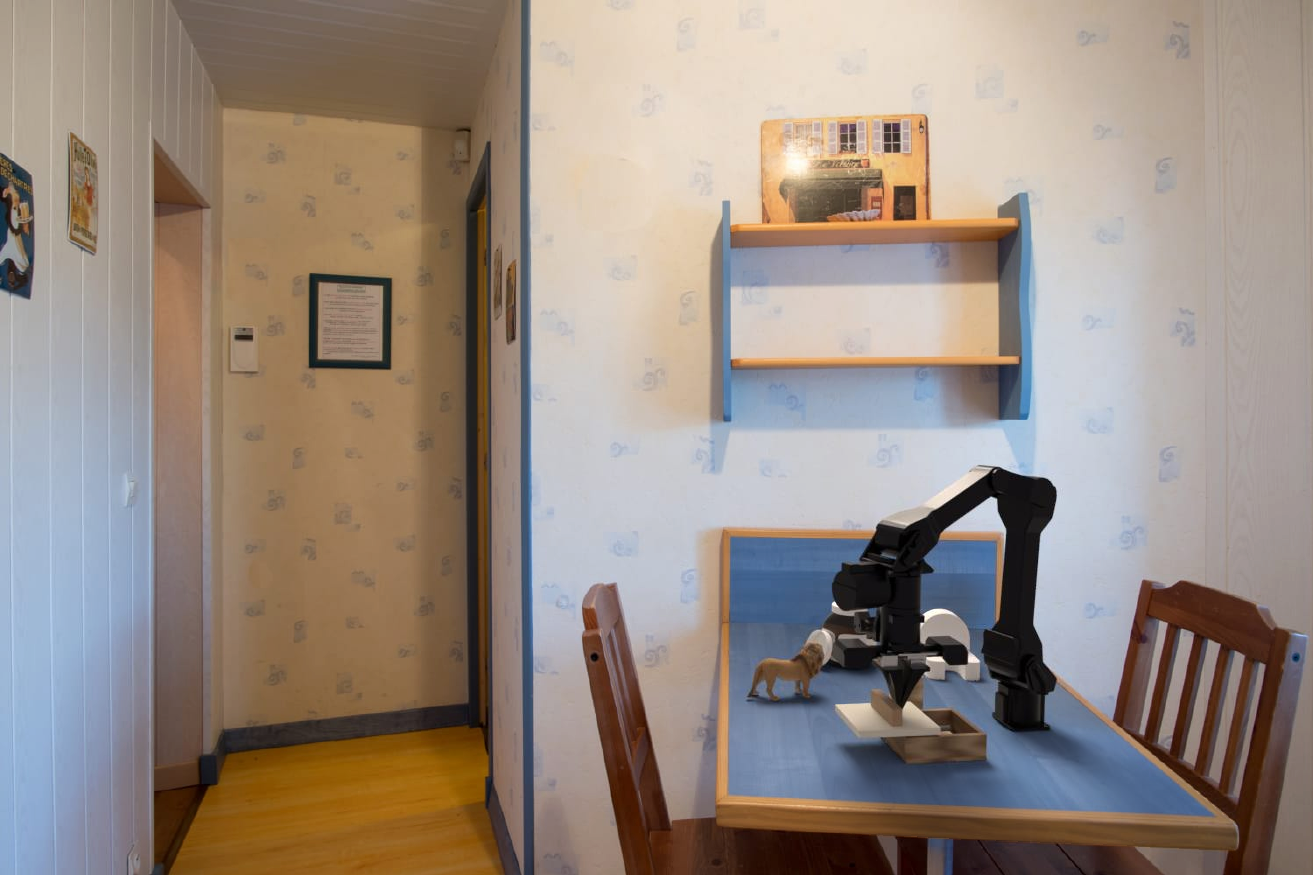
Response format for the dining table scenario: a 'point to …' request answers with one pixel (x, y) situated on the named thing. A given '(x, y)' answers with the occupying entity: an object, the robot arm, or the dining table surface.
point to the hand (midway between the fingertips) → (898, 709)
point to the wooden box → (942, 740)
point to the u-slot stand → (953, 626)
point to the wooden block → (916, 694)
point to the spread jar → (837, 632)
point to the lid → (885, 718)
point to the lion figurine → (790, 670)
